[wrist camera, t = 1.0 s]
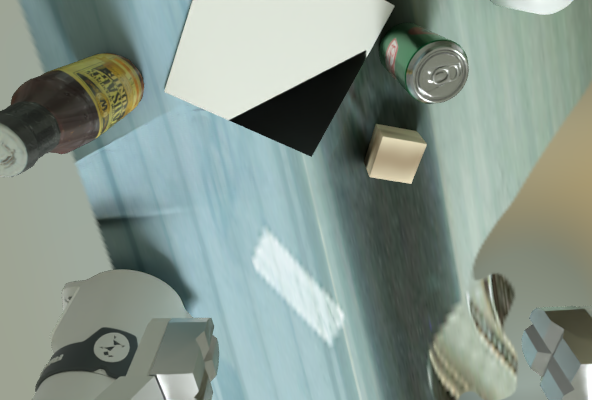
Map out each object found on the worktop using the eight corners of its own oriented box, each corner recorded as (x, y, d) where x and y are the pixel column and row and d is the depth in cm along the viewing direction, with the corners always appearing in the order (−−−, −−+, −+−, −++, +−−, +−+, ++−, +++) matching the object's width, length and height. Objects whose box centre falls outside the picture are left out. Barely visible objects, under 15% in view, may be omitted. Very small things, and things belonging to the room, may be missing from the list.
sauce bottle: (154, 106, 43) (67, 197, 26) (99, 111, 43) (-23, 204, 26) (136, 44, 40) (23, 102, 23) (77, 49, 40) (-80, 111, 23)
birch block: (402, 168, 48) (411, 183, 44) (363, 161, 47) (369, 177, 44) (416, 130, 45) (426, 144, 42) (375, 123, 45) (382, 136, 41)
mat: (311, 155, 46) (311, 156, 46) (165, 90, 42) (164, 91, 42) (393, 5, 38) (394, 5, 38) (222, -94, 34) (221, -95, 34)
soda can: (372, 32, 39) (402, 55, 29) (421, 14, 39) (470, 31, 28) (383, 79, 42) (414, 116, 32) (429, 63, 41) (477, 95, 31)
